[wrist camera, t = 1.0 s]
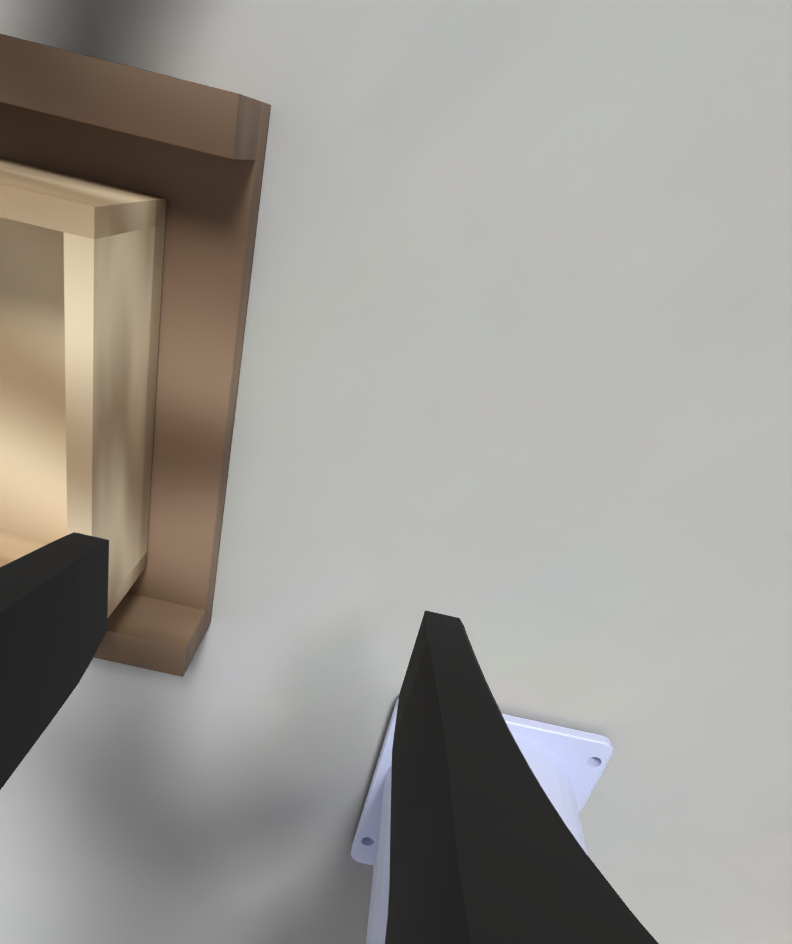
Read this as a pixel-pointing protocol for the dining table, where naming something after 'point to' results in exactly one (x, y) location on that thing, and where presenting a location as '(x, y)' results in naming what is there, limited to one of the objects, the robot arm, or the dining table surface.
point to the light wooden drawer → (78, 364)
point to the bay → (162, 296)
